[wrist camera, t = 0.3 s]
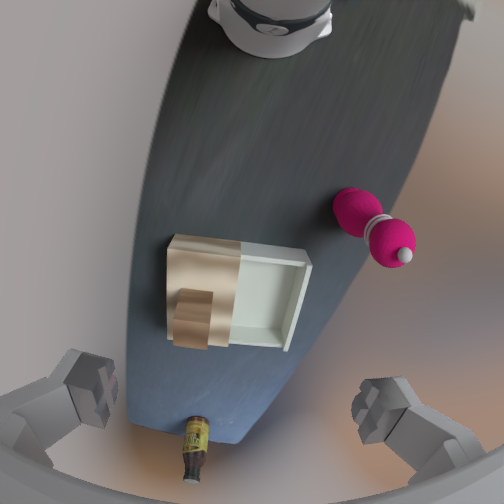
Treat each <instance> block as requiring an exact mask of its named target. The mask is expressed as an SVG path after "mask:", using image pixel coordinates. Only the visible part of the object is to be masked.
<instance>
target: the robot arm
mask: <svg viewBox="0 0 504 504" xmlns="http://www.w3.org/2000/svg"><path fill="white" fill-rule="evenodd" d="M332 2H333V0H212V2H211V4H210V6H209V8H208V15H209V17H210V18H211V19H213V20H214V21H215V22H217V23H218V24H220V25H221V26H222V28H223V29H224V31H225V33H226V35H227V36H228V38H229V39H230V40H231V41H232V42H233V43H234V44H235V45H236V46H237V47H238V48H240V49H241V50H243V51H245V52H247V53H249V54H251V55H254V56H258V57H263V58H283V57H288V56H291V55H294V54H296V53H298V52H300V51H301V50H303V49H304V48H305V47H307V46H308V45H309V44H310V43H311V42H312V41H314V40H317V39H321V38H324V37H326V36H328V35H329V34H330V33H331V31H332V27H331V18H332V14H331V13H330V6H331V4H332ZM216 5H217V7H216ZM114 369H115V366H114V362H113V360H112V359H110V358H105V357H102V356H97V355H94V354H90V353H87V352H82V351H78V350H75V349H70V350H68V351H67V353H66V354H65V356H64V357H63V358H62V359H61V361H60V363H59V364H58V365H57V367H56V368H55V370H54V371H53V372H52V374H51V375H50V377H49V378H46V377H44V378H42V379H40V380H37V381H35V382H33V383H30V384H28V385H26V386H24V387H21V388H19V389H16V390H14V391H12V392H9V393H8V394H5V395H3V396H0V504H178V503H171V502H165V501H159V500H154V499H149V498H144V497H139V496H135V495H131V494H127V493H123V492H119V491H116V490H112V489H109V488H105V487H102V486H99V485H96V484H92V483H90V482H87V481H84V480H81V479H78V478H75V477H73V476H70V475H67V474H65V473H62V472H60V471H58V470H55V469H53V466H54V465H53V463H52V461H51V459H50V458H49V457H48V455H47V454H46V452H45V450H46V449H47V448H49V447H50V446H52V445H53V444H54V443H56V442H57V441H58V440H60V439H61V438H63V437H64V436H65V435H67V434H68V433H69V432H71V431H72V430H74V429H75V428H76V427H78V426H79V425H81V423H84V424H87V425H91V426H95V427H98V428H102V429H105V427H106V424H107V422H108V419H109V417H110V412H109V407H111V406H112V405H114V404H115V401H116V399H117V393H118V382H117V378H116V377H115V376H114V375H113V372H114ZM360 390H361V392H360V393H359V394H358V395H356V396H355V398H354V400H353V402H352V409H351V412H352V417H353V420H354V422H356V423H357V424H358V425H360V426H359V429H358V433H359V435H360V438H361V440H362V443H363V445H364V444H372V443H379V442H384V443H385V444H386V445H387V446H388V447H389V448H390V449H392V450H393V451H394V452H395V453H396V454H397V455H398V456H399V457H401V458H402V459H403V460H404V461H406V462H407V463H408V464H409V465H410V466H411V467H412V468H414V469H415V470H416V471H417V472H416V473H415V474H414V476H412V477H411V478H410V480H409V481H408V484H409V486H406V487H402V488H399V489H396V490H392V491H388V492H385V493H381V494H376V495H372V496H368V497H364V498H359V499H354V500H348V501H343V502H337V503H331V504H504V444H503V445H501V446H499V447H497V448H495V449H494V450H492V451H490V452H488V453H486V452H485V450H484V449H483V447H482V446H481V444H480V442H479V441H478V439H477V438H476V436H475V435H474V434H473V432H472V431H471V430H469V429H468V428H466V427H464V426H462V425H461V424H459V423H457V422H455V421H453V420H452V419H450V418H448V417H446V416H445V415H443V414H441V413H439V412H438V411H436V410H434V409H433V408H431V407H429V406H427V405H422V403H421V402H420V400H419V399H418V397H417V396H416V394H415V392H414V391H413V389H412V388H411V386H410V385H409V383H408V382H407V380H406V379H405V378H404V377H403V376H395V377H387V378H386V377H385V378H373V379H365V380H364V381H363V382H362V383H361V385H360Z"/></svg>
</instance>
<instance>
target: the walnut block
mask: <svg viewBox="0 0 504 504" xmlns="http://www.w3.org/2000/svg"><path fill="white" fill-rule="evenodd" d="M212 301H213V292H211V291H203V290H195V289H187V288H182V290H181V293H180V296H179V300H178V303H177V306H176V310H175V313H174V317H173V345H175V346H182V347H189V348H197V349H205V350H207V346H208V337H209V329H210V321H211V311H212Z"/></svg>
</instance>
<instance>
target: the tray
mask: <svg viewBox="0 0 504 504" xmlns="http://www.w3.org/2000/svg"><path fill="white" fill-rule="evenodd" d="M311 270H312V264H311V262H310V259H309V257H308V255H307V253H306V251H305V250H304V249H297V248H289V247H281V246H273V245H265V244H257V243H249V242H241V261H240V268H239V274H238V281H237V288H236V294H235V301H234V308H233V315H232V322H231V329H230V336H229V343H233V344H243V345H255V346H268V347H283V351H288V348H289V345H290V342H291V339H292V336H293V332H294V329H295V326H296V322H297V319H298V316H299V312H300V309H301V306H302V302H303V299H304V295H305V292H306V288H307V284H308V281H309V277H310V274H311Z"/></svg>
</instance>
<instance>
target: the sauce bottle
mask: <svg viewBox="0 0 504 504" xmlns="http://www.w3.org/2000/svg"><path fill="white" fill-rule="evenodd" d="M208 434H209V421H208V420H207V419H205V418H203V417H197V416H196V417H195V416H194V417H191V418H189V420H188V422H187V426H186V432H185V440H184V446H183V458H184V463H185V475H184V478H183V480H184V482H186V483H190V484H198V483H199V482H200V478H199V475H200V468H201V467H202V466H203V465H204V463H205V460H206V454H207V443H208Z"/></svg>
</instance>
